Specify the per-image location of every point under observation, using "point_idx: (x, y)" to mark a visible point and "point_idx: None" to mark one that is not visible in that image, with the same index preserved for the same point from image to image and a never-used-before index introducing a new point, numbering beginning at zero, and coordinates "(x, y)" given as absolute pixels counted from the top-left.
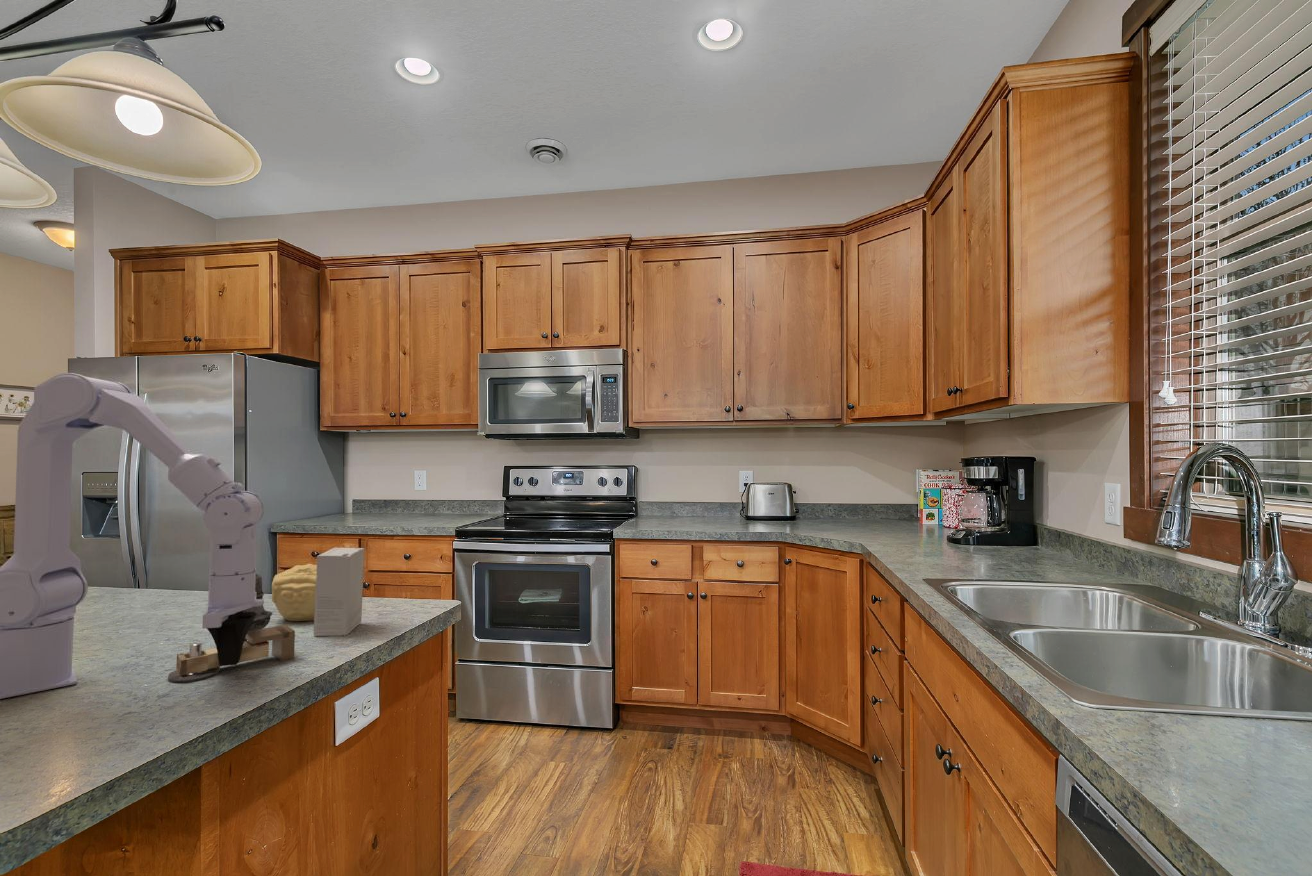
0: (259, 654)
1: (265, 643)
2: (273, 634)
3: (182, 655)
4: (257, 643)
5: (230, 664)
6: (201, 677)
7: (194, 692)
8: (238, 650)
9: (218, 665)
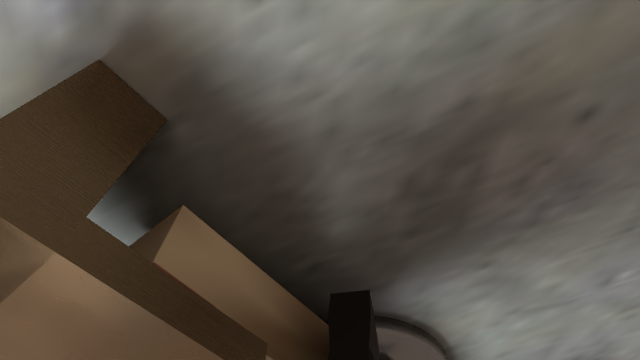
0: (215, 253)
1: None
2: (119, 301)
3: None
4: None
5: (372, 311)
6: (433, 343)
7: (602, 294)
8: (371, 358)
9: None
